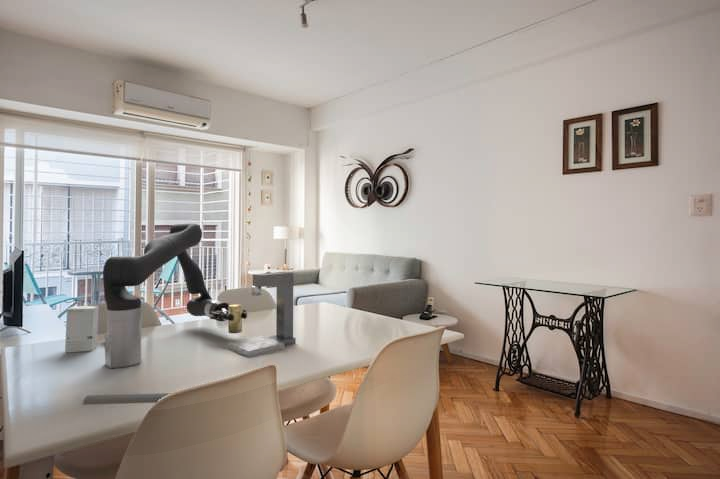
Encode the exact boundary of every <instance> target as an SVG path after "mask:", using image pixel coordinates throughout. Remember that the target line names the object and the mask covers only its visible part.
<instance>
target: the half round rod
mask: <svg viewBox="0 0 720 479" xmlns="http://www.w3.org/2000/svg"><path fill="white" fill-rule="evenodd" d="M170 393H171V392H166V393H164V392H163V393H159V392H158V393H125V394H121V393H120V394H119V393H118V394H90V395H89V394H88V395H85V397H84V399H83V405H99V404H100V405H101V404H103V405H104V404H105V405H108V404H137V403H138V404H140V403H142V404H143V403H158V402H157V401H158V400H159V399H161V398H162V397H164V396H166V395H168V394H170Z"/></svg>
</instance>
